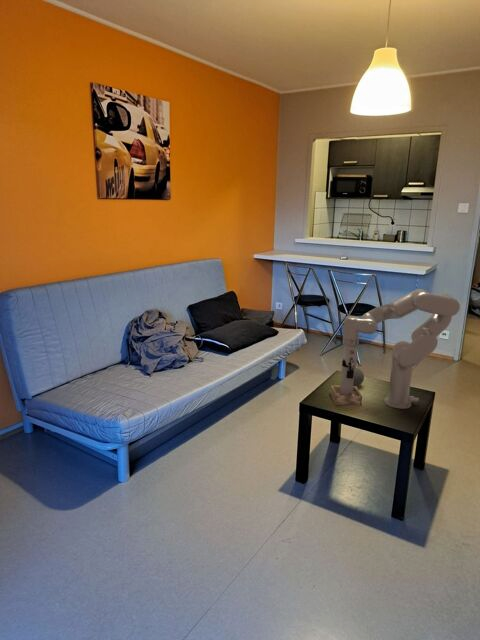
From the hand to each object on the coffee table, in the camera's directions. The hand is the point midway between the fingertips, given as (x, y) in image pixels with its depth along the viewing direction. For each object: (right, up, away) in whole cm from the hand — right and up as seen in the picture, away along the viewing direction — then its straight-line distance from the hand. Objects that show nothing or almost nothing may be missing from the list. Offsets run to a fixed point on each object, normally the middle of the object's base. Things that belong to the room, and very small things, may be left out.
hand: (347, 374), depth 221 cm
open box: (0, -13, +3) cm, 13 cm away
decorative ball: (+8, -9, +21) cm, 24 cm away
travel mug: (0, -12, +3) cm, 12 cm away
